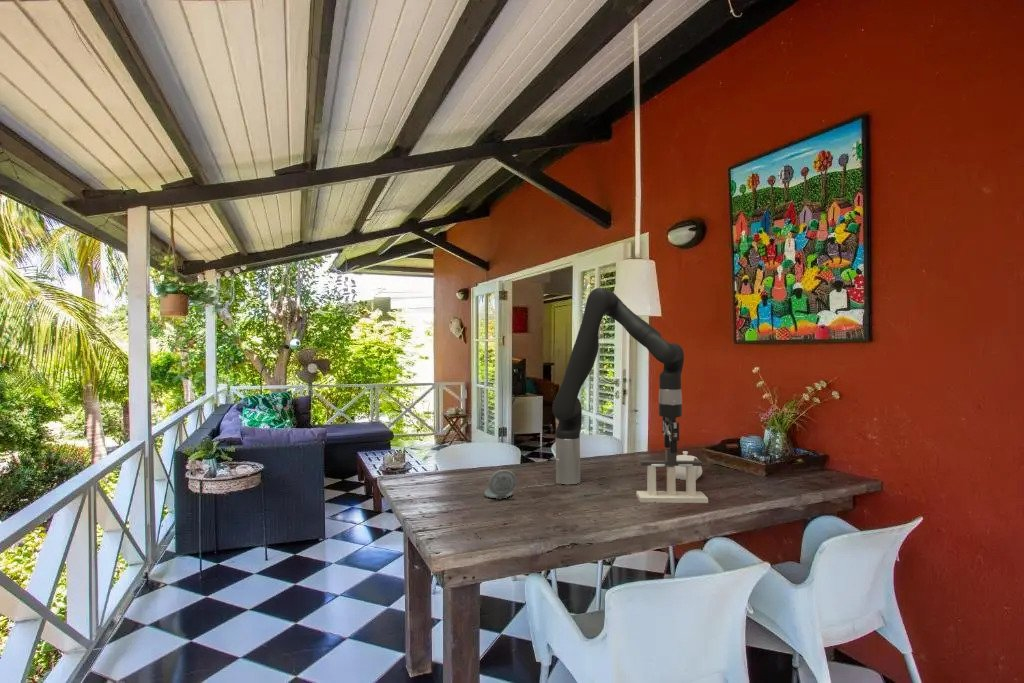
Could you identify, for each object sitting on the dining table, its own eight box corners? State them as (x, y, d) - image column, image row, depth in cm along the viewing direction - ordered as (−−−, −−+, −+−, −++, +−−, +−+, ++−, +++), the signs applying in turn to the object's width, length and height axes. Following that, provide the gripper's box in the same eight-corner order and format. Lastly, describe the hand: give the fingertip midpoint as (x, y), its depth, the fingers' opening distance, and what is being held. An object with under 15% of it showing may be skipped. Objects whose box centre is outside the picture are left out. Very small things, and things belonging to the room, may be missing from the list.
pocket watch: (488, 471, 176) (480, 461, 191) (489, 503, 176) (480, 491, 191) (517, 468, 179) (507, 459, 193) (518, 501, 179) (507, 489, 193)
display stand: (640, 502, 175) (639, 467, 175) (636, 495, 183) (635, 462, 183) (708, 502, 174) (707, 468, 174) (701, 495, 182) (700, 462, 182)
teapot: (715, 483, 197) (715, 456, 197) (685, 485, 194) (685, 458, 194) (687, 470, 217) (686, 445, 217) (659, 472, 214) (658, 447, 214)
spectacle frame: (642, 466, 177) (642, 451, 177) (638, 460, 185) (637, 446, 185) (703, 467, 175) (703, 451, 175) (696, 461, 184) (696, 446, 184)
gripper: (654, 399, 186) (655, 445, 186) (663, 404, 171) (663, 454, 172) (676, 399, 185) (676, 446, 185) (687, 404, 171) (687, 455, 171)
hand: (670, 450), depth 178 cm, fingers open, 8 cm apart
